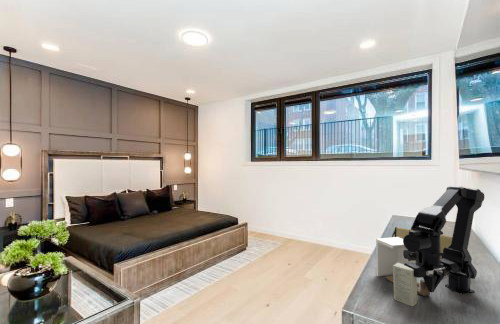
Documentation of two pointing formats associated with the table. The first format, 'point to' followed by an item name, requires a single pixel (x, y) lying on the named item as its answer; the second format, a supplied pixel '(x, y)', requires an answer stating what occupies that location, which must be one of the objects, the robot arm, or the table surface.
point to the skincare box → (404, 284)
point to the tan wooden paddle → (420, 290)
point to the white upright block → (389, 255)
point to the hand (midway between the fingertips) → (430, 291)
